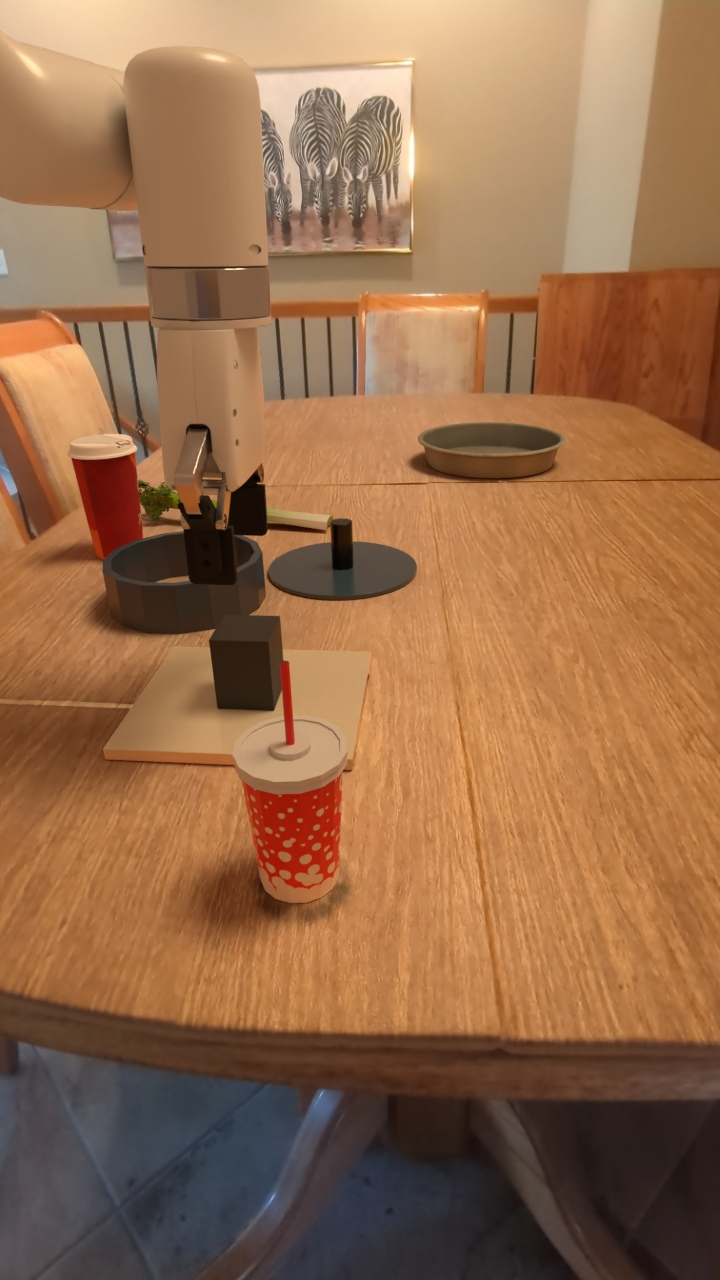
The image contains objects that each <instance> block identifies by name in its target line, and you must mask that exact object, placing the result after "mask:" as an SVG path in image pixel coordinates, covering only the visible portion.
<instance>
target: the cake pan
mask: <svg viewBox="0 0 720 1280" xmlns="http://www.w3.org/2000/svg"><path fill="white" fill-rule="evenodd" d="M417 442H418V444H419V445H421V446H423V449H424V452H425V457H426V462H427V465H428V466H429V467H430V468H432V469H433V470H435V471H438V472H440V473H445V474H447V475H451V476H456V477H464V478H474V479H497V480H498V479H515V478H516V479H517V478H522V477H529V476H533V475H539V474H542V473H544V472H546V471H548V470H550V469H551V468H552V467H553V465H554V463H555V459H556V456H557V453H558V450H559V449H560V448H562V447H563V446H564V445H565V444H566V438H565V436H564V435H563V434H562V433H560V432H558V431H555V430H553V429H549V428H546V427H542V426H537V425H531V424H525V423H515V422H514V423H511V422H497V421H496V422H489V421H488V422H487V421H486V422H482V421H480V422H461V423H454V424H446V425H440V426H435V427H432V428H428V429H427V430H424V431H423V432H421V433H420V434H419V435H418V436H417Z"/></svg>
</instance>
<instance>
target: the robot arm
mask: <svg viewBox="0 0 720 1280" xmlns="http://www.w3.org/2000/svg"><path fill="white" fill-rule="evenodd" d="M260 94H261V93H260V88H259V83H258V79H257V77H256V74H255V72H254V70H253V69H252V67H251V66H250V65H249V64H248V63H247V62H246V61H245V60H244V59H243V58H241V57H240V56H238V55H235V54H233V53H230V52H228V51H224V50H221V49H215V48H210V47H202V46H201V47H200V46H185V45H183V46H181V45H180V46H179V45H178V46H177V45H176V46H175V45H173V46H161V47H153V48H148V49H146V50H144V51H141V52H139V53H137V54H135V55H134V56H133V57H132V58H131V59H130V60H129V61H128V63H127V65H126V67H125V70H120V69H118V68H114V67H110V66H106V65H102V64H98V63H95V62H93V61H90V60H86V59H84V58H79V57H75V56H73V55H68V54H65V53H63V52H59V51H56V50H53V49H49V48H47V47H42V46H37V45H34V44H30V43H26V42H23V41H19V40H16V39H14V38H12V37H10V36H8V35H7V34H5V33H3V32H2V31H0V198H3V199H5V200H7V201H11V202H13V203H18V204H22V205H31V206H42V207H43V206H44V207H45V206H47V207H65V208H66V207H67V208H79V209H80V208H81V209H90V210H102V211H117V212H134V211H137V217H138V225H139V232H140V241H141V242H140V243H141V249H142V257H143V266H144V275H145V276H144V277H145V283H146V284H145V285H146V291H147V292H146V293H147V299H148V307H149V309H148V310H149V315H150V316H149V317H150V325H151V327H153V328H156V329H157V340H156V341H157V342H156V383H157V384H156V385H157V402H158V404H157V405H158V417H159V430H160V432H159V433H160V445H161V456H162V458H161V459H162V467H163V477H164V482H165V484H166V485H167V486H168V487H169V489H171V490H173V491H176V494H178V496H179V500H178V502H179V504H177V505H178V509H177V510H179V512H180V526H181V528H182V531H184V540H185V549H186V557H187V566H188V575H189V576H188V581H190V582H191V583H193V584H208V585H234V584H235V582H236V581H237V578H238V576H237V564H236V552H235V540H234V535H243V536H246V537H247V536H249V537H250V536H251V537H252V536H253V537H264V536H265V535H267V533H268V531H269V526H268V524H269V523H268V521H267V508H268V507H267V492H266V484H265V483H264V481H265V469H264V468H265V467H264V466H263V462H264V460H265V457H266V452H267V421H266V403H265V392H264V377H263V368H262V367H263V366H262V357H261V354H262V351H261V347H260V340H259V330H258V328H260V327H263V328H264V327H268V326H270V325H272V323H273V322H272V303H271V283H270V267H269V248H268V227H267V225H268V224H267V207H266V206H267V205H266V186H265V167H264V166H265V165H264V163H265V162H264V146H263V127H262V126H263V125H262V124H263V123H262V108H261V106H262V105H261V95H260ZM210 496H217V497H216V501H217V505H216V508H215V506H214V504H213V502H212V500H213V499H211V497H210Z"/></svg>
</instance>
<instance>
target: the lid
mask: <svg viewBox="0 0 720 1280" xmlns="http://www.w3.org/2000/svg"><path fill="white" fill-rule="evenodd" d="M333 519H334V520H332V521H331V522H330V526H329V527H330V541H327V542H320V543H313V544H309V545H305V546H301V547H297V548H294V549H292V550H289V551H286V552H284V553H282V554H281V555H279V556H277V557H276V558H275V559H273V560H272V561H271V563H270V565H269V567H268V578H269V580H270V582H271V583H272V584H273V585H274V586H275V587H276V588H277V589H280V590H281V591H283V592H286V593H288V594H291V595H295V596H297V597H303V598H308V599H313V600H315V599H316V600H323V601H324V600H325V601H349V600H350V601H351V600H361V599H368V598H374V597H378V596H379V597H380V596H383V595H385V594H389V593H393V592H395V591H398V590H400V589H401V588H403V587H405V586H407V585H409V584H410V583H411V582H412V581H413V580H414V579H415V577H416V576H417V572H418V566H417V565H418V564H417V562H416V560H415V559H414V558H413V557H412V556H411V555H410V554H409V553H407V552H406V551H403V550H401V549H399V548H397V547H393V546H390V545H386V544H381V543H376V542H369V541H368V542H367V541H354V534H353V532H354V531H353V520H351V519H350V518H345V517H344V518H342V517H341V518H333Z"/></svg>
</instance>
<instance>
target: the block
mask: <svg viewBox="0 0 720 1280" xmlns="http://www.w3.org/2000/svg"><path fill="white" fill-rule="evenodd" d="M281 623H282V622H281V616H280V615H256V614H255V615H254V614H250V615H224V616H223V618H222V620H221V621H220V623H219V624H218V626H217V628H216V629H214V630H213V632H212V634H211V636H210V638H209V639H208V644H209V647H210V653H211V661H212V669H213V677H214V685H215V693H216V701H217V708H218V709H240V710H267V711H274V710H275V707H276V704H277V702H278V699H279V696H280V694H281V691H282V686H281V673H280V662H281V661H283V649H284V648H283V636H282V624H281Z"/></svg>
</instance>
